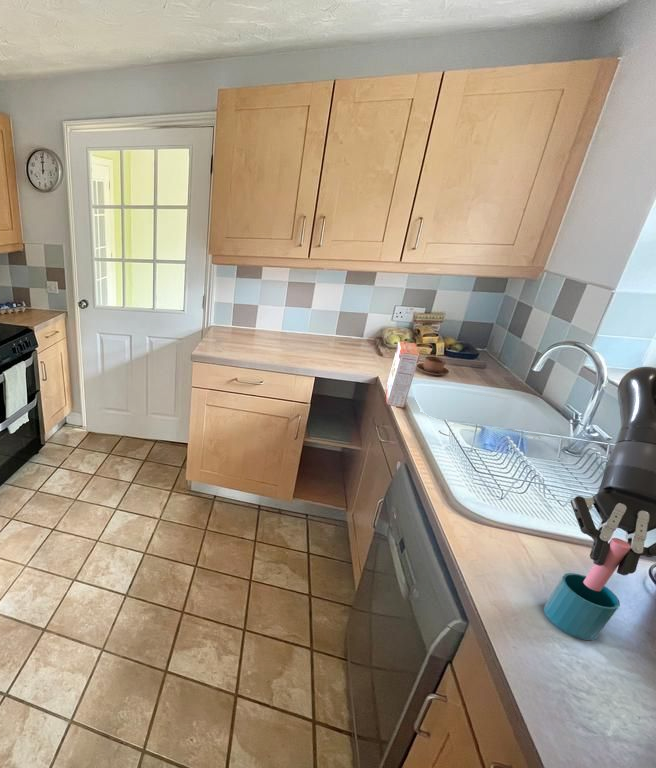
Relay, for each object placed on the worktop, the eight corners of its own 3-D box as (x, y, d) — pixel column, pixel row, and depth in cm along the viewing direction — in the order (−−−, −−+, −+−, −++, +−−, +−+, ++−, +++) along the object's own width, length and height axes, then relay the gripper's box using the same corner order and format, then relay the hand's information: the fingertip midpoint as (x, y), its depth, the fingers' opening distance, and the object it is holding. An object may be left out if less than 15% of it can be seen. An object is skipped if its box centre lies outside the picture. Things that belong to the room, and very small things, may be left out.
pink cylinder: (597, 583, 72) (627, 540, 67) (603, 593, 70) (634, 550, 66) (580, 578, 72) (609, 535, 68) (586, 588, 71) (615, 544, 66)
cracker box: (383, 390, 163) (398, 340, 155) (401, 393, 161) (416, 343, 152) (385, 405, 152) (401, 351, 143) (404, 408, 150) (421, 354, 141)
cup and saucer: (419, 365, 189) (423, 352, 187) (450, 372, 182) (455, 359, 179) (412, 372, 182) (416, 358, 179) (443, 380, 174) (448, 366, 171)
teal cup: (587, 613, 76) (608, 582, 73) (604, 647, 70) (628, 615, 67) (538, 597, 79) (556, 567, 76) (551, 629, 73) (571, 597, 70)
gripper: (590, 451, 72) (560, 543, 68) (716, 487, 63) (688, 594, 60) (574, 463, 77) (546, 549, 74) (688, 497, 69) (661, 595, 66)
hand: (610, 568), depth 67 cm, fingers closed on pink cylinder, 2 cm apart
